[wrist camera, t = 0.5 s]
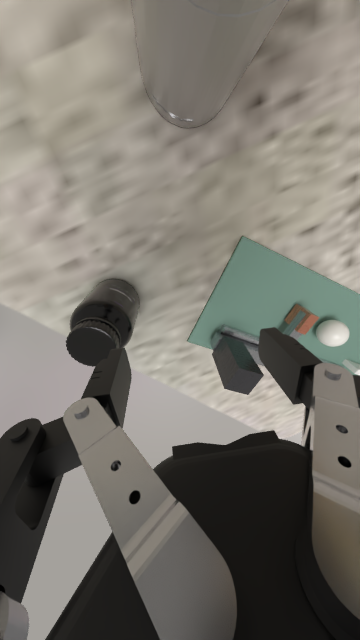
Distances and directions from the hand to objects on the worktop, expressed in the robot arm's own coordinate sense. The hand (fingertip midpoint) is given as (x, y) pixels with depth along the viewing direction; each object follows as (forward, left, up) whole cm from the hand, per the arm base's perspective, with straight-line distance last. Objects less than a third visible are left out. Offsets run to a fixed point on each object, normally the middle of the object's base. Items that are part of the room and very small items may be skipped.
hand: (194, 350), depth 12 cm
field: (+1, +28, -19) cm, 34 cm away
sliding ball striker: (+3, +16, -18) cm, 24 cm away
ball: (-1, +28, -16) cm, 32 cm away
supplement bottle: (+7, -6, -19) cm, 21 cm away
